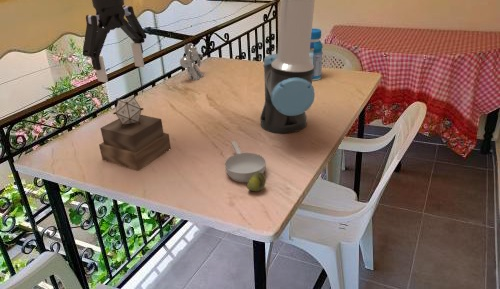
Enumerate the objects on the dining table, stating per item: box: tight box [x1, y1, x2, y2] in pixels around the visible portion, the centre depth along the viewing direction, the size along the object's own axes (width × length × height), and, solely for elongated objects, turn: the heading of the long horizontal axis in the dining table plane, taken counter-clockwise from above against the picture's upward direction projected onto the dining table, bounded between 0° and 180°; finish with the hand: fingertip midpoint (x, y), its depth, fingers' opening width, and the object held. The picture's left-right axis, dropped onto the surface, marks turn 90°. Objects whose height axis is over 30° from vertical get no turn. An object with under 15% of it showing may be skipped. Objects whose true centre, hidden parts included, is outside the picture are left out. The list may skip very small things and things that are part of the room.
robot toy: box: [179, 42, 204, 81], centre depth 181 cm, size 15×6×15 cm, turn 158°
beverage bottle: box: [309, 28, 324, 82], centre depth 174 cm, size 8×8×20 cm
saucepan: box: [224, 140, 267, 183], centre depth 115 cm, size 11×18×4 cm, turn 16°
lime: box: [246, 172, 266, 192], centre depth 104 cm, size 4×5×5 cm
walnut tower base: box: [98, 114, 172, 171], centre depth 123 cm, size 14×14×10 cm
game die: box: [112, 94, 144, 127], centre depth 118 cm, size 9×8×10 cm
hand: (122, 73), depth 114 cm, fingers open, 13 cm apart
